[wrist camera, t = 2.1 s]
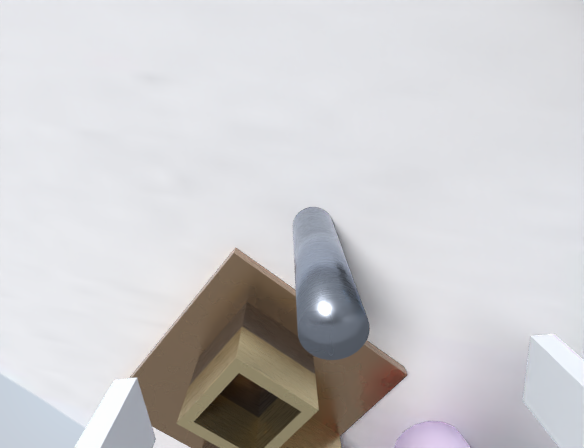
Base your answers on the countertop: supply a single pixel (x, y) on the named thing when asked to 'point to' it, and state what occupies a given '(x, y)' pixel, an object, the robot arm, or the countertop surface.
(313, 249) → the pin
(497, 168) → the countertop surface
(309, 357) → the square socket plate
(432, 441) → the mushroom
